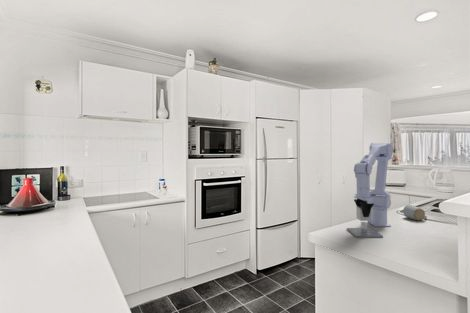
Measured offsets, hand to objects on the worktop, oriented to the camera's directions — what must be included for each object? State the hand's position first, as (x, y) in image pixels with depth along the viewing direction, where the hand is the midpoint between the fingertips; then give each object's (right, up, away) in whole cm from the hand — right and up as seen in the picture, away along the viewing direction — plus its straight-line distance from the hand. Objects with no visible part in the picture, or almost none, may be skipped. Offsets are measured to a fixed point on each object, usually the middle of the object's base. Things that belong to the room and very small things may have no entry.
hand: (363, 215), depth 124 cm
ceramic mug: (+41, -7, +22) cm, 47 cm away
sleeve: (0, -2, 0) cm, 2 cm away
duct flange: (0, -9, 0) cm, 9 cm away
